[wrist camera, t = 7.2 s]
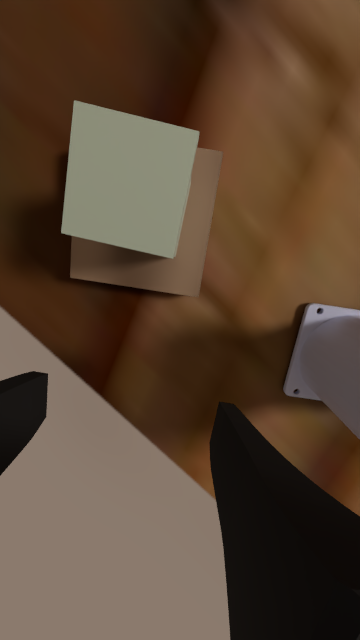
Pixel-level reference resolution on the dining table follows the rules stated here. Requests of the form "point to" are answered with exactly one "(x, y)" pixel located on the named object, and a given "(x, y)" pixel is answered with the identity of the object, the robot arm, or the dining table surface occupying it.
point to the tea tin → (127, 180)
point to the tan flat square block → (157, 270)
